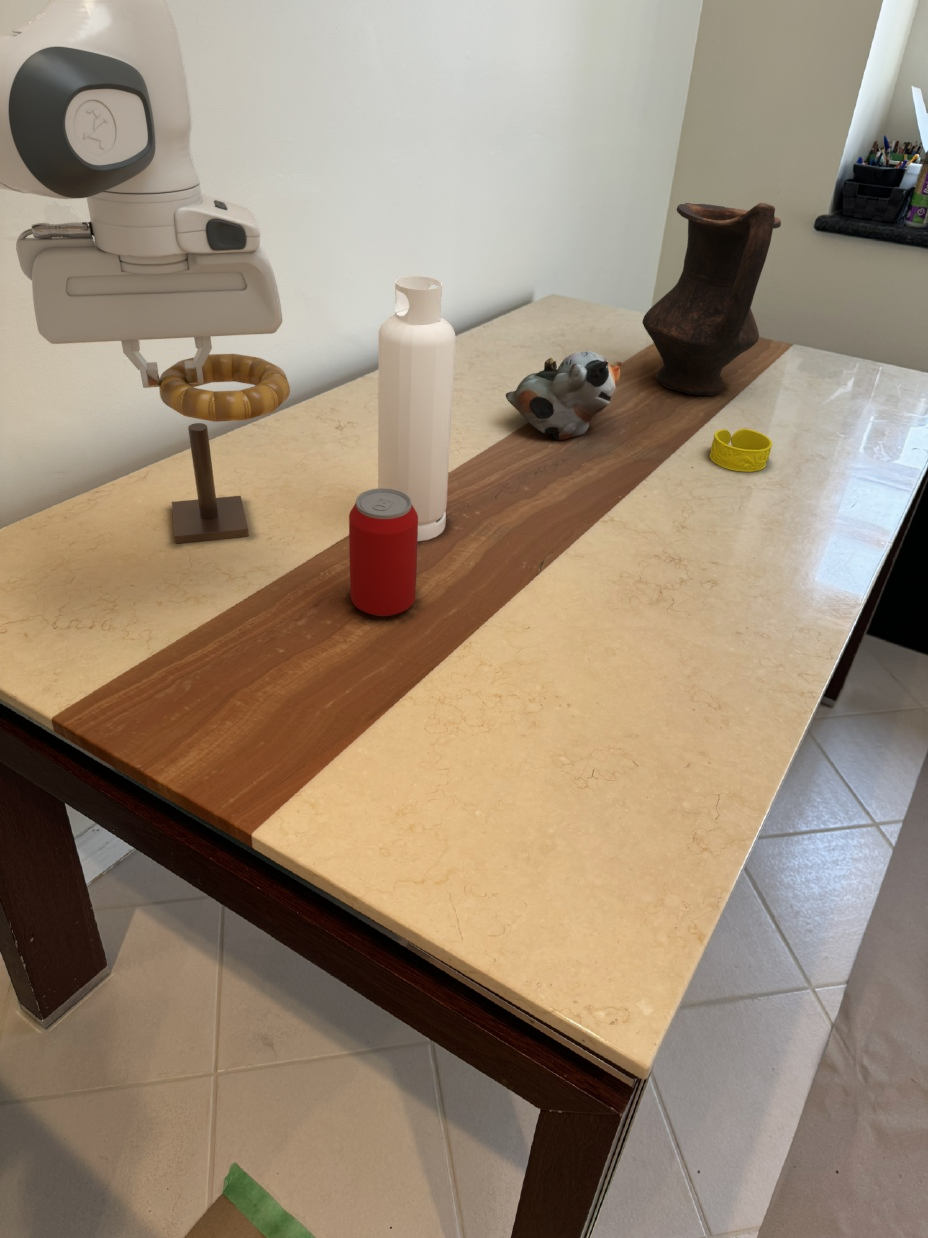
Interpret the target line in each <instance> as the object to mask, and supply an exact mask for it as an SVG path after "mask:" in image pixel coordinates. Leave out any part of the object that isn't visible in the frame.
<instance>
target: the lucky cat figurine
mask: <svg viewBox="0 0 928 1238" xmlns="http://www.w3.org/2000/svg"><path fill="white" fill-rule="evenodd" d="M622 365H623V362H622V361H616V362H613V363H610V362H609V360H608V359H607V358H606V357H605V356H604V355H601V354H599V353H597V352H594V351H589V350H586V351H581V352H574V353H572V354H570V355H568V356H567V357H565V358H564V359H563V360H562V361H561V363H560V364H559V365H558V366H557V361H556V360H555V359H554V358H553V357H549V358H548V359H546V360H545V361H544V366H543V369H542V370H540V371H538V372H534V373H530V374H528V375H526V376H525V377H524V378H522V380H521V381H520V382H519V384H518V385H517V387H516V389H515V390H513V391H509V392H506V393H505V398H506V400H507V402H508V403H509V404H511V405H512V407H513V408H514V409H515V410H516V411H517V412H519V414H521V416H523V417H524V418H525V420H526V421H527V422H528V423H529V424H530V425H531V426H533V428H535V429H536V430H538V431H539V432H541V433H542V434H544V435H548V434H552V437H553V439H554V440H557V441H563V440H567V439H571V438H575V437H579V436H582V435H584V434H586V432H587V431H588V429H589V428H590V422H591V420H592V418H594V417H595V416H596V415H598V414H599V413H601V412H602V411H603V410H604V409H605V408H607V407H608V406H609V405H610V404H611V399H612V396H613V394H614V392H615V390H616V389H617V385H618V384H619V381H620V376H621V369H620V368H621V366H622Z"/></svg>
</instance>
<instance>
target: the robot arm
mask: <svg viewBox="0 0 928 1238" xmlns="http://www.w3.org/2000/svg"><path fill="white" fill-rule="evenodd" d="M11 32H12V33H13V34H11V33H0V190H6V191H12V192H17V193H22V194H31V195H36V196H40V197H47V198H52V199H58V200H76V199H78V200H79V199H86V202H87V209H88V214H89V219H90V221H89V222H88V221H81V222H78V221H77V222H76V221H75V222H64V223H48V222H37V223H33V224H31V228H28V229H25V230H24V231H22V232H21V233H20V234H19V235H18V237H17V239H16V243H15V249H16V253H17V259H18V262H19V266H20V269H21V271H22V273H23V274H24V275H25V276H26V277H27V278H28V279H29V280H30V281H31V288H32V302H33V309H34V310H33V311H34V316H35V317H34V318H35V321H36V327H37V331H38V333H39V335H40V336H41V337H43V338H44V339H45V340H46V341H47V342H48V343H50V344H51V345H62V344H63V345H64V344H85V343H104V342H106V343H107V342H108V343H109V342H121V348H122V352H123V354H124V355H125V357H126V358H127V359H128V360H129V361H130V362H131V363H132V365H133V366H134V367H135V368H136V370H138V371H140V372H139V373H140V378H141V383H142V388H143V389H148V388H149V389H150V388H159V387H160V374H159V366H158V362H157V361H155V362H154V361H153V362H152V361H151V362H148V361H147V360H146V359H145V357H144V356H143V355H142V354H141V352H140V351H141V341H145V340H146V341H148V340H149V341H150V340H168V339H169V340H170V339H186V338H187V339H188V338H194V345H195V349H197V350H196V352H195V354H194V359H193V360H188V361H184V363H185V371H186V378H187V384H188V385H199V384H204V380H203V373H202V367H203V366H204V364H205V361H206V359H207V357H208V355H209V354H210V353H211V351H212V349H213V345H212V338H211V337H228V336H229V337H230V336H231V337H232V336H250V335H271V334H275V333H276V332H277V331H278V330H279V329H280V327H281V325H282V324H283V312H282V303H281V297H280V293H279V289H278V288H279V287H278V284H277V280H276V276H275V273H274V270H273V266H272V264H271V262H270V259H269V257H268V255H267V253H266V251H265V249H264V248H263V246H262V245H261V228H260V223H259V221H258V219H257V217H256V216H255V215H254V213H253V212H252V211H251V210H250V209H249V208H248V207H245V206H242V205H239V204H236V203H233V202H229V201H226V200H222V199H220V198H216V197H213V196H210V195H207V194H204V193H202V190H201V181H200V176H199V172H198V170H197V167H196V165H195V161H194V159H193V155H192V149H191V135H192V134H191V133H192V129H193V128H192V127H193V116H192V115H193V114H192V107H191V98H190V97H191V96H190V91H189V90H190V89H189V84H188V78H187V72H186V71H187V70H186V66H185V65H186V64H185V61H184V55H183V51H182V46H181V42H180V37H179V34H178V31H177V27H176V24H175V21H174V18H173V15H172V12H171V10H170V7H169V6H168V3H167V2H166V0H48V2H47V4H45V6H44V7H43V8H42V9H41V10H40V11H39V12H38V13H37V14H36V15H35V16H33V17H32V18H31V19H30V20H29V21H27V22H26V23H24V24H22V25H21V26H19V27H17V28H14V29H12V30H11ZM31 235H32V236H33V237H29V236H31ZM197 378H198V379H197ZM204 385H205V384H204Z"/></svg>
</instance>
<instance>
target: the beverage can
mask: <svg viewBox="0 0 928 1238" xmlns="http://www.w3.org/2000/svg"><path fill="white" fill-rule="evenodd" d="M418 542H419V541H418V515H417V512H416V511H415V509H414V507H413V505H412V504H411V499H410V498H409V496H408V495H406V494H405V493H403V492H401V491H398V490H394V489H387V488H378V487H377V488H372V489H368V490H365V491H364V492H361V493H360V494H359V495H358V496H357V497H356V499H355V503H354V505H353V506H352V508H351V510H350V512H349V515H348V545H349V547H348V548H349V553H348V554H349V556H348V557H349V587H350V589H349V591H350V600H351V603H352V604H353V605H354V606H355V607H356V608H357V609H358V610H360V611H362V612H363V613H366V614H369V615H373V616H377V617H389V616H390V617H391V616H394V615H397V614H401V613H404V612H405V611H407V610H408V609H409V608H411V607H412V605H413V604H414V603H415V601H416V589H417V569H418V568H417V566H418Z"/></svg>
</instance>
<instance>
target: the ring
mask: <svg viewBox="0 0 928 1238" xmlns="http://www.w3.org/2000/svg"><path fill="white" fill-rule="evenodd" d="M194 357H195V356H194ZM194 357H190V358H186V359H182V360H178V361H177V362H176V363H174V364H172V365H171V366H170V367H168V368H167V369H166V370H164V371H163V372H161V374H160V375H159V379H160V387H158V388H159V397H160V400H161V401H162V403H163V404H164V405H166V406H167V407H169V408H170V409H172V410H173V411H175V412H177V413H178V414H180V415H182V416H184V417H187V418H191V419H197V420H203V421H208V422H215V423H216V422H217V423H218V422H237V421H239V422H240V421H248V420H251V419H254V418H255V419H256V418H259V417H262V416H264V415H268V414H272V413H273V412H275V411H276V410H277V409H278V408H279V407H281V406H282V404H283V403H285V402H286V400H287V399H288V398H289V396H290V394H291V393H290V392H291V386H290V383H289V380H288V378H287V374H286V373H285V371H284V369H282V368H281V367H280V366H278V365H276V364H274V363H272V362H270V361H268V360H266V359H264V358H262V357H258V356H251V355H245V354H238V353H211V354H210V353H209V355H208V357H207V359H206V361H205V364H204V366H203V367H202V373H203V380H204V384H199V385H188V384H187V378H186V371H185V363H184V361H188V360H193V359H194ZM197 379H198V378H197ZM230 382H231V383H233V382H234V383H240V384H247V385H252V386H250V387H247V388H242V389H239V390H217V391H216V390H215V391H213V390H208V389H203V388H199V387H200V386H204V385H207V384H211V383H230Z"/></svg>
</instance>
